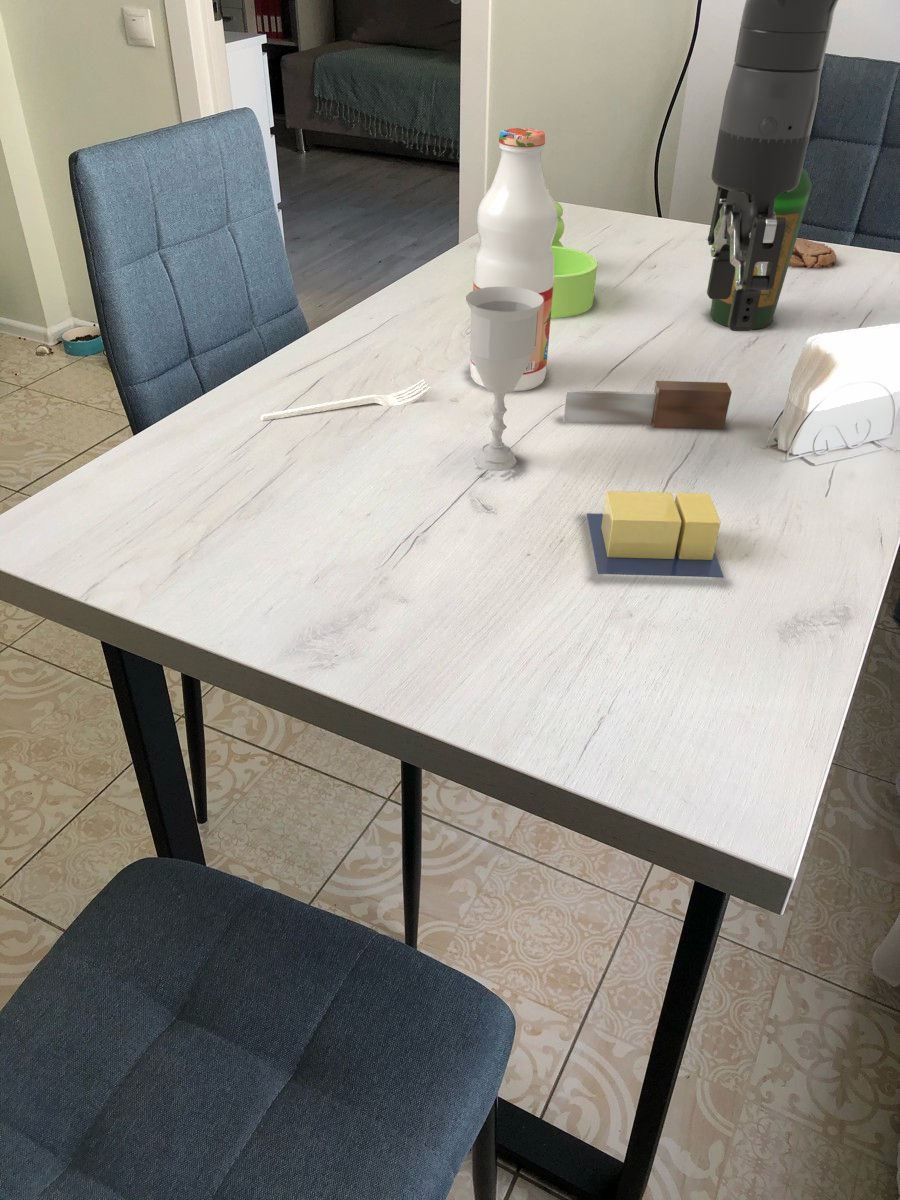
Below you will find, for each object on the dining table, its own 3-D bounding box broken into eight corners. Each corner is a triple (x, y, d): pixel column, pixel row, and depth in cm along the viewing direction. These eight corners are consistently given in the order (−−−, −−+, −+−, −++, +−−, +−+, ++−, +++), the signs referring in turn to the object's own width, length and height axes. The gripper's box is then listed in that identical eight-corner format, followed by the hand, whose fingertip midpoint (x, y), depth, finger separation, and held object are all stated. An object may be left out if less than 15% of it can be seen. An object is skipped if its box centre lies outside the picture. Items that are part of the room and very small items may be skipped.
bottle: (687, 319, 134) (725, 101, 118) (729, 303, 140) (772, 93, 123) (751, 341, 128) (802, 114, 111) (793, 323, 134) (846, 105, 117)
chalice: (521, 451, 102) (533, 285, 91) (537, 482, 96) (552, 309, 85) (455, 455, 101) (459, 287, 90) (467, 487, 95) (473, 313, 84)
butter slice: (701, 530, 88) (709, 493, 85) (712, 560, 84) (721, 522, 81) (669, 529, 88) (676, 492, 85) (678, 559, 84) (686, 521, 81)
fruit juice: (455, 373, 118) (460, 128, 101) (514, 358, 122) (529, 120, 105) (500, 401, 112) (514, 144, 95) (560, 383, 116) (585, 135, 99)
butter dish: (699, 525, 90) (709, 479, 87) (721, 586, 82) (733, 538, 79) (585, 521, 90) (591, 476, 87) (596, 582, 82) (603, 535, 79)
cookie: (835, 274, 152) (840, 255, 151) (768, 266, 155) (772, 248, 153) (833, 256, 160) (838, 238, 158) (769, 249, 162) (773, 231, 161)
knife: (718, 423, 108) (727, 382, 105) (722, 432, 106) (731, 391, 103) (562, 418, 108) (566, 378, 105) (564, 428, 106) (568, 387, 103)
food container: (598, 321, 133) (609, 229, 126) (496, 319, 133) (501, 227, 125) (578, 265, 153) (586, 183, 146) (489, 263, 153) (492, 181, 145)
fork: (258, 416, 107) (256, 401, 106) (422, 392, 113) (422, 377, 112) (264, 429, 105) (263, 413, 103) (432, 403, 111) (432, 388, 110)
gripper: (837, 145, 74) (789, 342, 84) (784, 111, 86) (747, 288, 95) (742, 143, 74) (705, 341, 84) (702, 109, 85) (674, 287, 95)
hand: (728, 313), depth 90 cm, fingers open, 8 cm apart
